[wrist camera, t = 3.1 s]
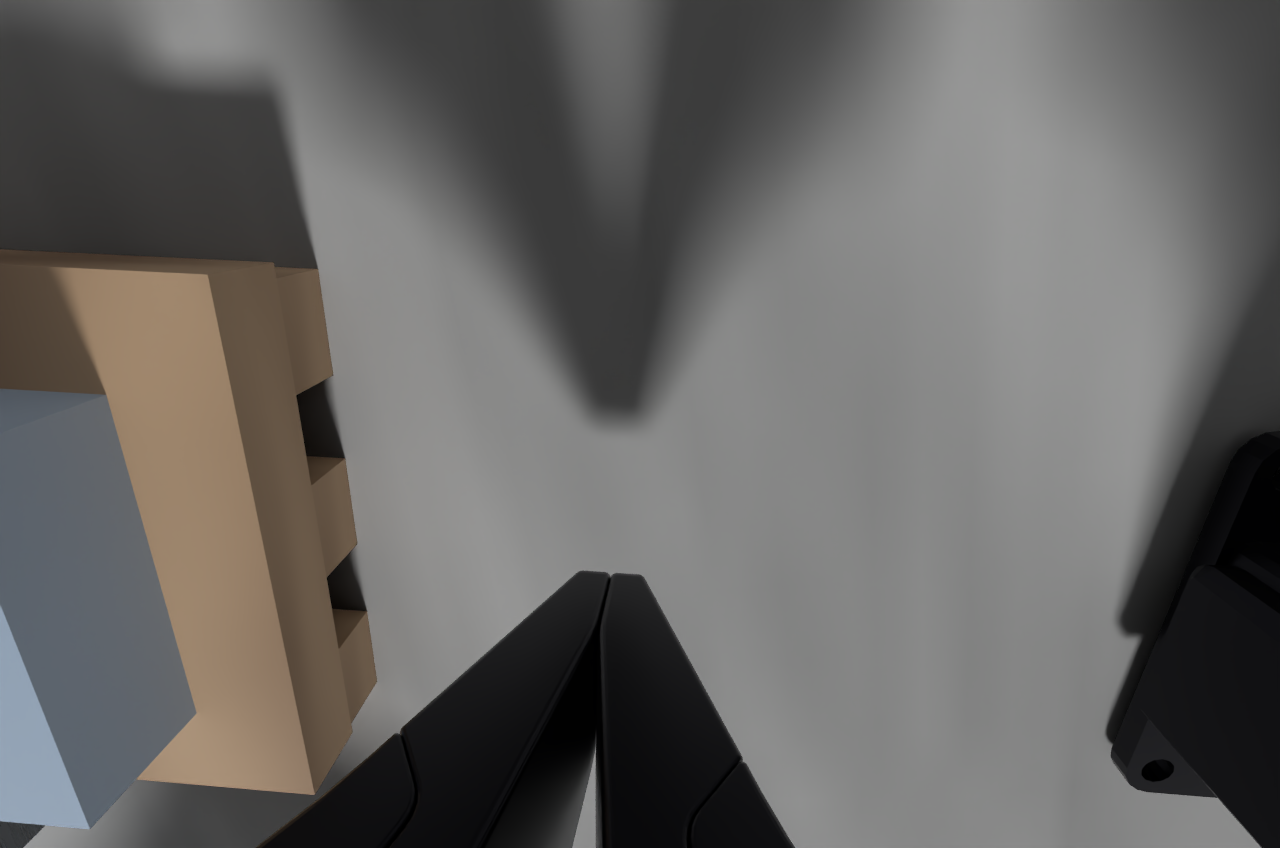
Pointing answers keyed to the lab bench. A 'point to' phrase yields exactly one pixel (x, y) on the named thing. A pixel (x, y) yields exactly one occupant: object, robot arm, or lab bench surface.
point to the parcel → (77, 617)
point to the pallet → (215, 489)
